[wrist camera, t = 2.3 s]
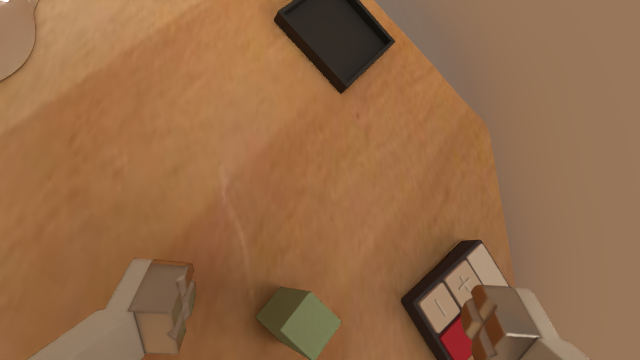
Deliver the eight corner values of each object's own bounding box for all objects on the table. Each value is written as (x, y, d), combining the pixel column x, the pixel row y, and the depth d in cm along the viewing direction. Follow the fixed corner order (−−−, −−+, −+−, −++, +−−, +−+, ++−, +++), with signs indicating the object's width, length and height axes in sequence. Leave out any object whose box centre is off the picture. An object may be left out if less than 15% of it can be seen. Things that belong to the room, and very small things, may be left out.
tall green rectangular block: (254, 317, 42) (279, 330, 33) (280, 286, 44) (310, 290, 35) (282, 343, 42) (313, 362, 33) (306, 311, 44) (342, 322, 35)
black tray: (273, 20, 52) (277, 11, 50) (328, -19, 58) (334, -29, 56) (341, 93, 54) (347, 87, 52) (388, 48, 59) (395, 41, 57)
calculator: (415, 303, 46) (484, 238, 52) (397, 299, 50) (463, 239, 56) (460, 375, 46) (524, 301, 52) (438, 365, 50) (500, 298, 56)
